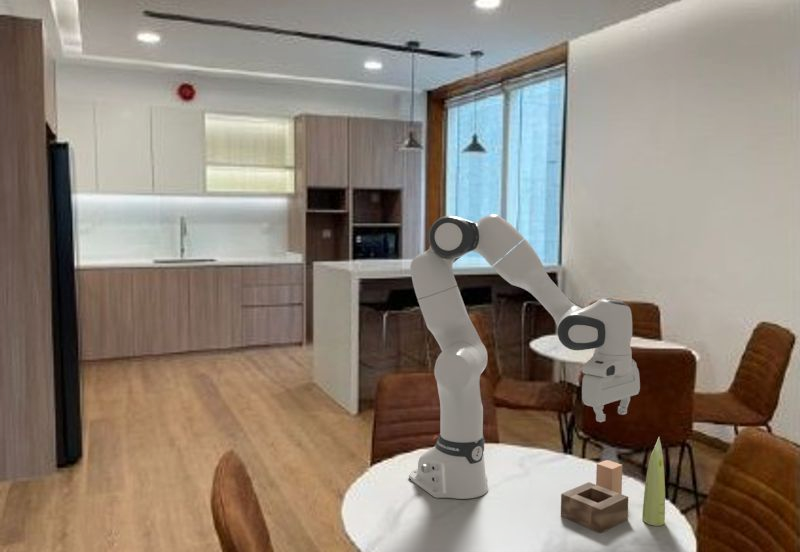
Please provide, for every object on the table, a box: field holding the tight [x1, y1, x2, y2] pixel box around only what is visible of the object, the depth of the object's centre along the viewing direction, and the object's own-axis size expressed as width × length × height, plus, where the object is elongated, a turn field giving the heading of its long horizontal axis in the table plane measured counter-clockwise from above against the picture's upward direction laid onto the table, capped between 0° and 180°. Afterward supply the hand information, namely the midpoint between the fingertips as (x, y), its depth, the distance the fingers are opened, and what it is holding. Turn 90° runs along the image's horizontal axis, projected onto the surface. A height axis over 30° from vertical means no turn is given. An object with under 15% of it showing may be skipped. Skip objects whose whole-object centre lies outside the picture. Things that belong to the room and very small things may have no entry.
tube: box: [641, 437, 666, 527], centre depth 153 cm, size 6×5×20 cm
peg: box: [595, 459, 623, 495], centre depth 166 cm, size 4×4×9 cm
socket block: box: [560, 482, 629, 534], centre depth 156 cm, size 11×11×6 cm
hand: (611, 417), depth 165 cm, fingers open, 8 cm apart
